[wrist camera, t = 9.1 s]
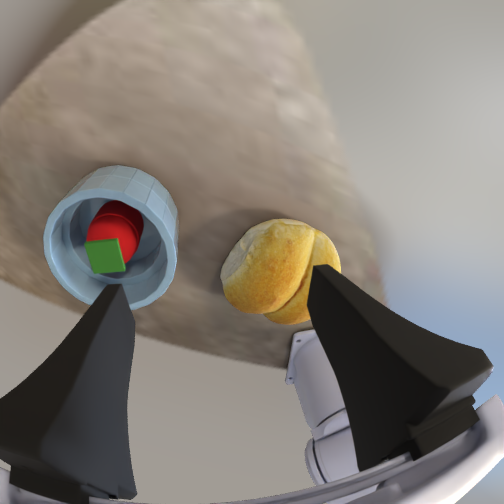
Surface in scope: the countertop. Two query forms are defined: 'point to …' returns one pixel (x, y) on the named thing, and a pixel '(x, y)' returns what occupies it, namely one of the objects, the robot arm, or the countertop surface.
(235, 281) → the bread roll
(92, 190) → the bowl
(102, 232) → the strawberry
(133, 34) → the countertop surface
